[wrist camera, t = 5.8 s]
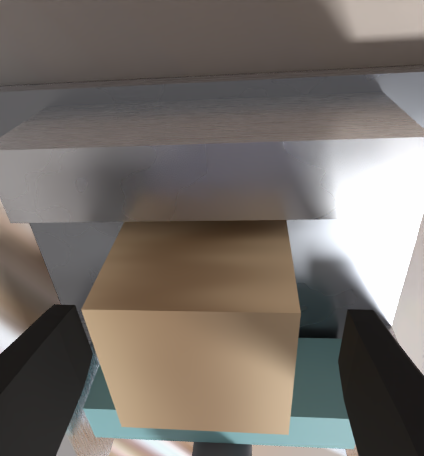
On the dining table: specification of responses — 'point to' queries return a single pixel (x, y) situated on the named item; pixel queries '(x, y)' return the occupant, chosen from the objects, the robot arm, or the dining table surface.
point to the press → (224, 180)
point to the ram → (242, 442)
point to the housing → (198, 325)
